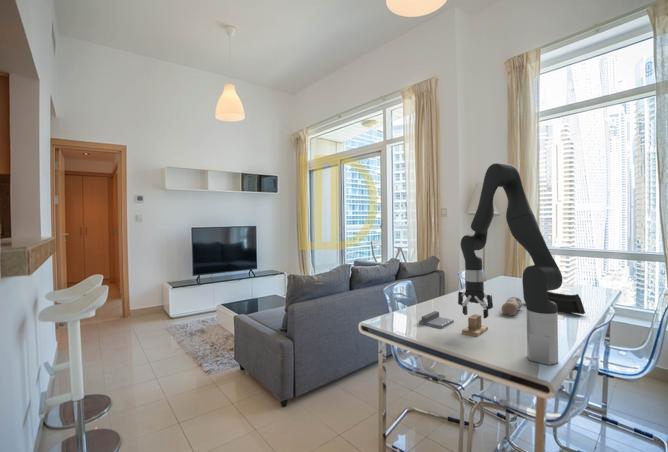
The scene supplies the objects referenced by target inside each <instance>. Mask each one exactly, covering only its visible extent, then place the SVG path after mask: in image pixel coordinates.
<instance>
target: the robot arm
mask: <svg viewBox="0 0 668 452" xmlns="http://www.w3.org/2000/svg"><path fill="white" fill-rule="evenodd" d="M484 174H485V175H484V179H483V182H482V188H481V192H480V196H479V200H478V205H477V208H476V211H475V214H474V217H473V219H472V221H471V224H470V229H471V230H472V231H473V232H474V233H473V234H466V235H464V236H462V238H461V239H460V242H459V243H460V250H461V252H462V256H463V258H464V269H465V270H464V283H465V284H464V285H465V288H464V289H465V291H463V290H460V291H458V292H457V293H458V294H457V295H458V296H457V297H458V299H457V304H458V305H460V306H462V314H463V315H464V316H467V315H468V304H469V303H471V304H472V303H474V304H479V306H481V307H482V309H483V311H482V312H483V315H482V316H483V319H484V320H485V319H487V318H489V310H492V309H493V308H494V305H493V304H494V302H493V295H492V294H485V285H484V283H485V282H484V271H483V259H482V257H481V256H479V255H477V254H476V252H475V251H480V250H483V249H484V248H485V246H486V244H487V240H488V232H489V231H488V230H489V227H490V226H491V223H492V221H493V219H494V214H495V213H494V211H495V209H494V197H495V194H496V191H497V189H499V188H503V190H504V192H505V196H506V198H507V209H506V212H505V213H506V214H505V218H506V220H505V221H506V222H507V226H508V229H509V232H510V233H511V235H512V237H513V238H514V239H515V240H516V242H517V243H518V244H520V245H521V246H522V247H523V249H524V250H525V251H526V252H527V253H528V255H529V256H530V257H531V260H532V262H533V264H532V265H529V266H527V267H526V268H524V270H523V272H522V293H523V301H524V303H525V307H526V310H525V311H526V353H527V358H528V360H529V361H531V362H536V363H539V364H543V365H547V366H552V365H555V364H558V363H559V328H558V327H559V326H558V325H559V323H558V322H559V321H558V320H559V317H558V316H559V315H558V312H559V311H558V308H557V304H556V303H555V302H552V301H550V300H549V299H548V293H547V291H549V292H551V291H556V290H558V289H560V288H561V287H562V284H563V275H562V272H561V270H560V268H559V266H558V264H557V262H556V260H555V259H554V256H553V255H552V253H551V252H550V250H549V248H548V246H547V243H546V241H545V238H544V236H543V234H542V231H541V229H540V227H539V224H538V222H537V219H536V217H535V215H534V212H533V210H532V208H531V204H530V203H529V200H528V198H527V194H526V192H525V188H524V186H523V181H522V179H521V175H520V172H519V170H518V168H517V167H516V166H515V165H513V164H509V163H499V162H498V163H497V162H496V163H492V164H491V165H489V166H488V168H487V169H486V171H485V173H484ZM464 296H465V297H466V299H465V300H464ZM484 298H485V299H486V300H487V301H485V300H484Z"/></svg>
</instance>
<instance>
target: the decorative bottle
mask: <svg viewBox="0 0 668 452" xmlns="http://www.w3.org/2000/svg"><path fill="white" fill-rule="evenodd" d="M522 306H523V302H522V300H521V299H520V298H519V297H516V296H512V297H509V298H507V300H506V301H505V303H503V304H502V305H501V311H502V313H503V314H504V315H506V316H510V317H511V316H515V315H516V314H517V313H518V311H519V310H520V309H521V308H522Z"/></svg>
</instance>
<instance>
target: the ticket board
mask: <svg viewBox="0 0 668 452" xmlns="http://www.w3.org/2000/svg"><path fill="white" fill-rule="evenodd" d="M420 318H421V319H420V320H418V324H421V325H424V326H429V327H433V328H438V329H445V328H446V327H448V326H450V325H451V324H454V322H455V320H454V319H450V318H447V317H440V312H439V311H436V310H434V311H431V312H429V313H427V314H425V315H422V316H421V317H420Z"/></svg>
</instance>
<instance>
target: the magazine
mask: <svg viewBox="0 0 668 452" xmlns="http://www.w3.org/2000/svg"><path fill="white" fill-rule="evenodd" d="M547 293H548V299H549V300H550V301H552V302H555V303H556V304H557V308H558V312H561V313H569V314H580V315H584V314H586V311H585V308H584V304H583V302H582V299H581V297H580V295H579V293H578V294H577V293H576V294H565V293H558V292H552V291H547Z"/></svg>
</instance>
